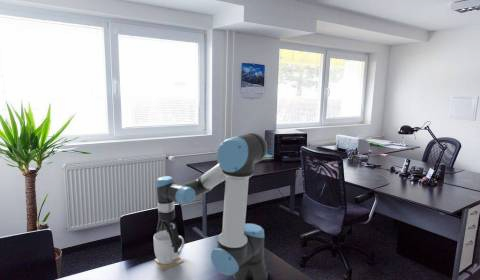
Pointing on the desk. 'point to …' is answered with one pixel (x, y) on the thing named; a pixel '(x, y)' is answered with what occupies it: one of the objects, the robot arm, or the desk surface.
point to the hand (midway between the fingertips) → (168, 252)
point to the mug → (164, 247)
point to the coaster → (166, 266)
